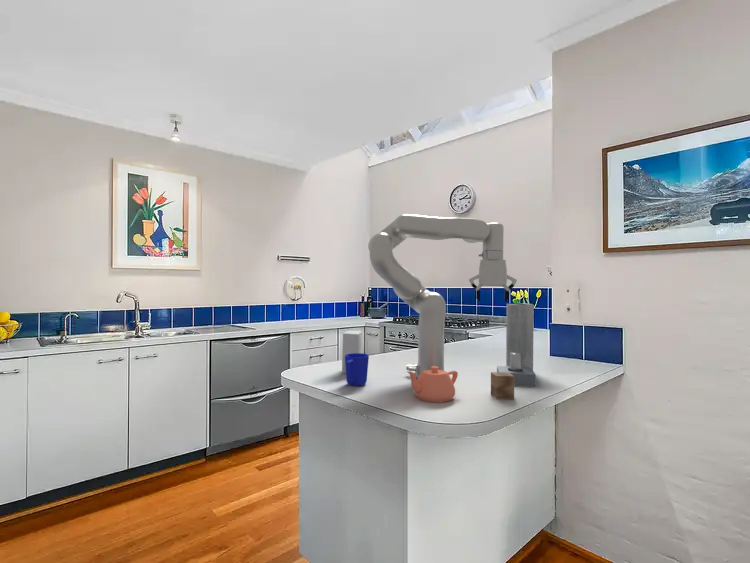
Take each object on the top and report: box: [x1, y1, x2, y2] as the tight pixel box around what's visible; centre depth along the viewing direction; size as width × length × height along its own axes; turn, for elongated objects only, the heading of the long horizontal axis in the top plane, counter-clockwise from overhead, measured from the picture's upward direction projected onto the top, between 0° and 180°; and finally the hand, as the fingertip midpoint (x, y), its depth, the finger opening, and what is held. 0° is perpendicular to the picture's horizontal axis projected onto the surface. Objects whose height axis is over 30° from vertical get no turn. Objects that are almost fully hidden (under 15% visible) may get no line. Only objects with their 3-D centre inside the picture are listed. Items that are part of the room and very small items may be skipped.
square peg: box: [490, 371, 515, 400], centre depth 128 cm, size 6×6×7 cm
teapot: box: [406, 366, 459, 403], centre depth 126 cm, size 12×18×10 cm
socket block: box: [496, 365, 537, 387], centre depth 148 cm, size 12×12×4 cm
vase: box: [505, 302, 535, 371], centre depth 162 cm, size 10×10×27 cm
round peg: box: [510, 353, 521, 372], centre depth 148 cm, size 4×4×10 cm
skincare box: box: [341, 330, 363, 374], centre depth 162 cm, size 8×7×16 cm
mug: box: [345, 352, 370, 387], centre depth 140 cm, size 8×12×10 cm
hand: (492, 301), depth 156 cm, fingers open, 9 cm apart
